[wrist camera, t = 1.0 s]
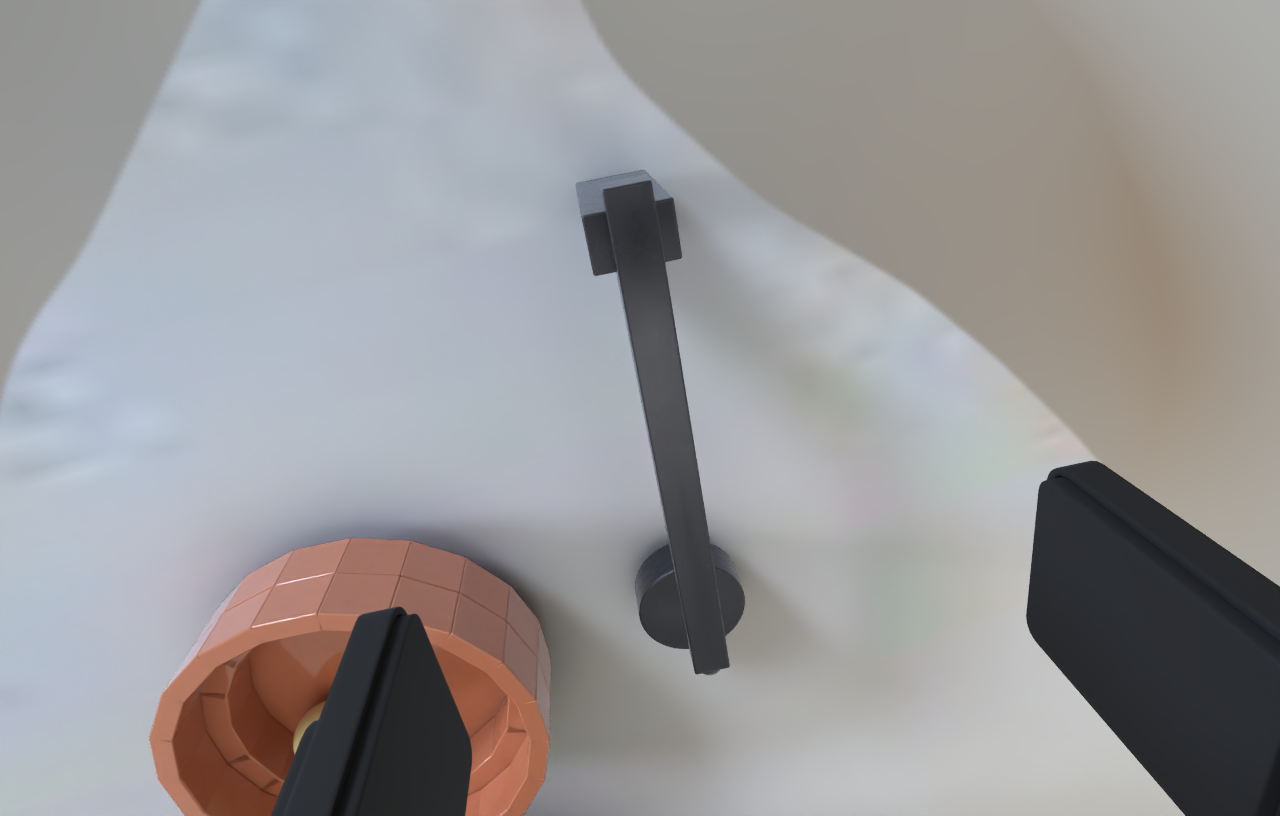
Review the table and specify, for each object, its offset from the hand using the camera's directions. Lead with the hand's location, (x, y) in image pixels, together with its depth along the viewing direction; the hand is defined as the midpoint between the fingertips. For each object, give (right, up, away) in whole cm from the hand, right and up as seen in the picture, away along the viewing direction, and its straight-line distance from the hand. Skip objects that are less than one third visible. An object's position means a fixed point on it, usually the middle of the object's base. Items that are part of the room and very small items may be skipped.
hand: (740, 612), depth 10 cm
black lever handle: (-1, +2, +17) cm, 17 cm away
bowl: (-13, -9, +21) cm, 26 cm away
